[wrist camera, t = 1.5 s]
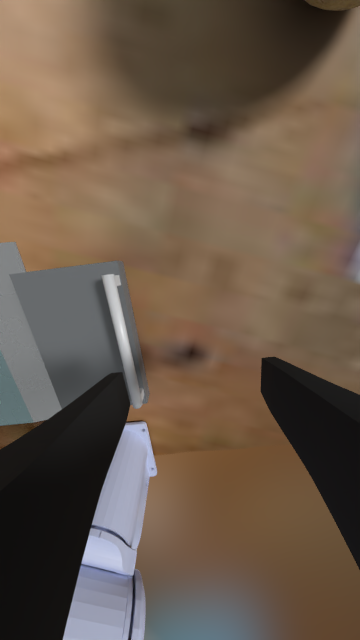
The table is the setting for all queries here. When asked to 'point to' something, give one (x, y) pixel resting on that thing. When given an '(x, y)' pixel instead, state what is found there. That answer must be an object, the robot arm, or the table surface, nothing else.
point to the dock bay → (20, 354)
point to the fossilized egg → (334, 4)
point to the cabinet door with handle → (83, 327)
